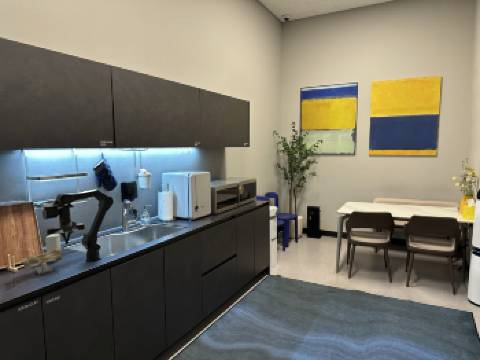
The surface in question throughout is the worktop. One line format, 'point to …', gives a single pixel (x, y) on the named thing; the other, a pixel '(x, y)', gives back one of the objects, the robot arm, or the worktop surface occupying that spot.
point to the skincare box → (53, 243)
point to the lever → (42, 258)
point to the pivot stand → (44, 268)
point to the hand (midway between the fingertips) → (66, 243)
